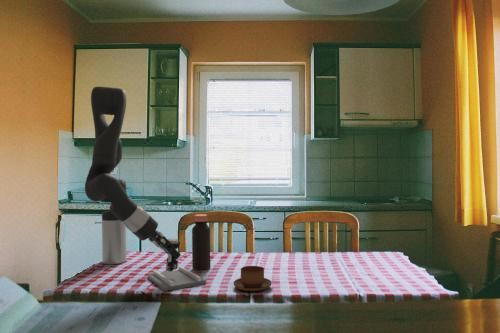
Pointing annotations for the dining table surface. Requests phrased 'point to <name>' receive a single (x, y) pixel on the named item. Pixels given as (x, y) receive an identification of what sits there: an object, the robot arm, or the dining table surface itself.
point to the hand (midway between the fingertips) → (175, 255)
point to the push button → (171, 261)
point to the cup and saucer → (252, 279)
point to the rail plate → (176, 279)
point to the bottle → (201, 243)
